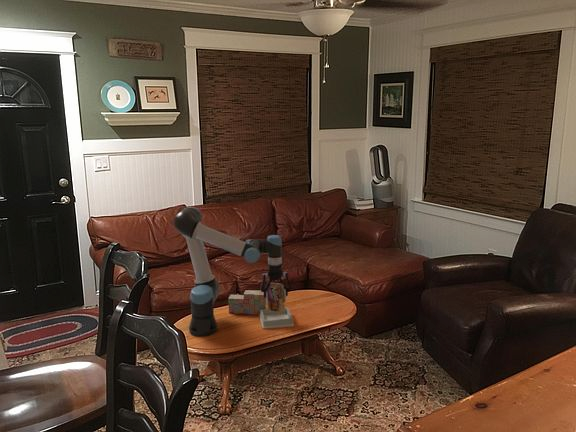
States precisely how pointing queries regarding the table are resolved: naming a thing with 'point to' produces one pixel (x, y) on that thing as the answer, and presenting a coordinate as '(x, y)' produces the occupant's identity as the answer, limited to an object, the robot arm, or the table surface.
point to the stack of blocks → (247, 302)
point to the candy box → (276, 297)
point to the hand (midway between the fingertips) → (275, 302)
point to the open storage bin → (275, 318)
